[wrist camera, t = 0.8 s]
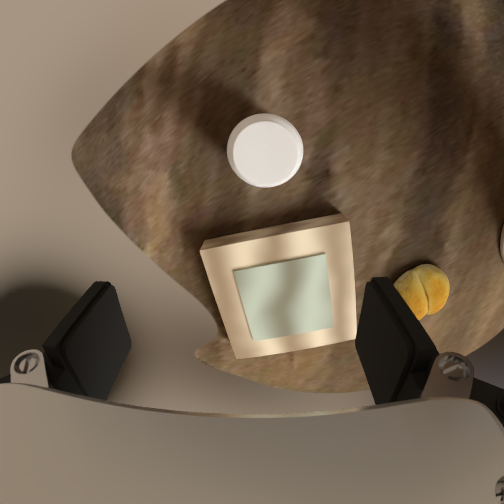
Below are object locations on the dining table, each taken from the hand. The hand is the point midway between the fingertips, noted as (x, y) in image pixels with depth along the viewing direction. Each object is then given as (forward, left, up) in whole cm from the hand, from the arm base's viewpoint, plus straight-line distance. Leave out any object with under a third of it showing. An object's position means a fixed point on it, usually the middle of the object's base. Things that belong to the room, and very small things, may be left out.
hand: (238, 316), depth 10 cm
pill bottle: (-2, -4, -23) cm, 24 cm away
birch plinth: (-1, +13, -23) cm, 26 cm away
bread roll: (-19, +18, -24) cm, 35 cm away
